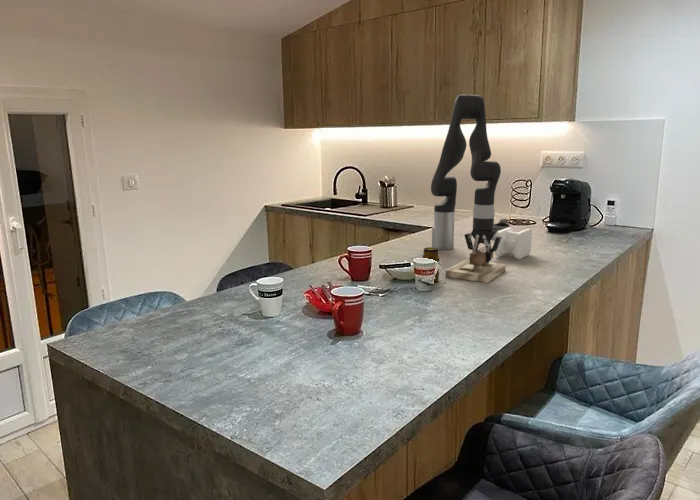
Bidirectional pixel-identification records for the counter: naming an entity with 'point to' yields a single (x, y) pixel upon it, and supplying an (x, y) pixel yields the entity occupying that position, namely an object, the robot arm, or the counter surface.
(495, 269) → the keyhole board
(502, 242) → the cable organizer
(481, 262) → the walnut bar
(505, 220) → the mug
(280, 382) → the counter surface
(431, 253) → the condiment
